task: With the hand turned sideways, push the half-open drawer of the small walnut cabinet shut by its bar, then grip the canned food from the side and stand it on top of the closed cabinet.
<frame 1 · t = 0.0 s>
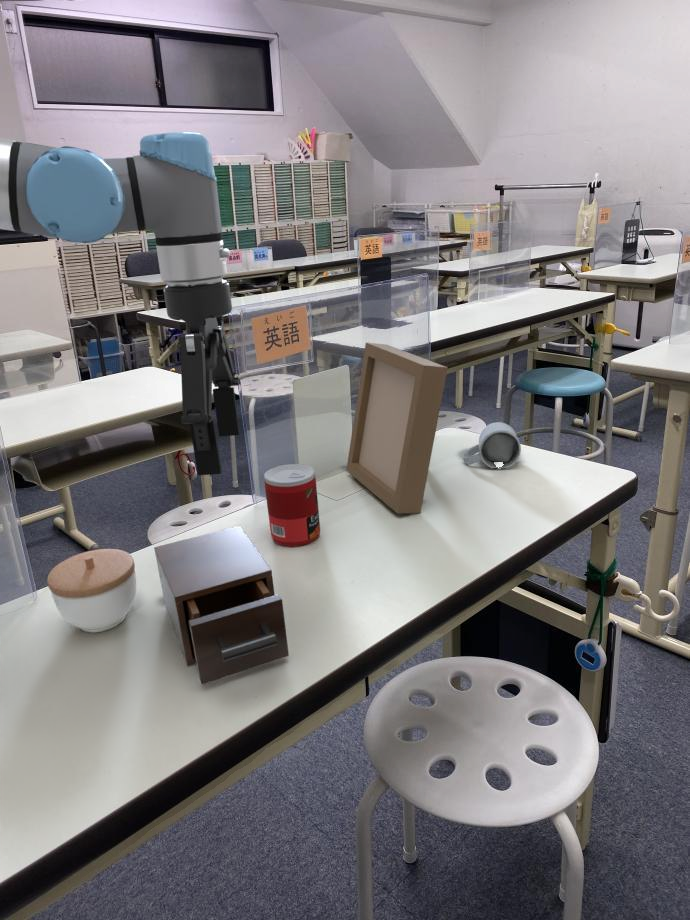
hand: (220, 453, 87), 21 cm above the table, tool pointing down, fingers open, 13 cm apart
canned food: (296, 537, 110), on the table
ceramic mug: (491, 463, 133), on the table
photo frame: (407, 487, 125), on the table
cabinet: (220, 622, 89), on the table
trinket box: (103, 620, 91), on the table
drawer: (231, 622, 80), point 5 cm above the table, slide at 4.0 cm
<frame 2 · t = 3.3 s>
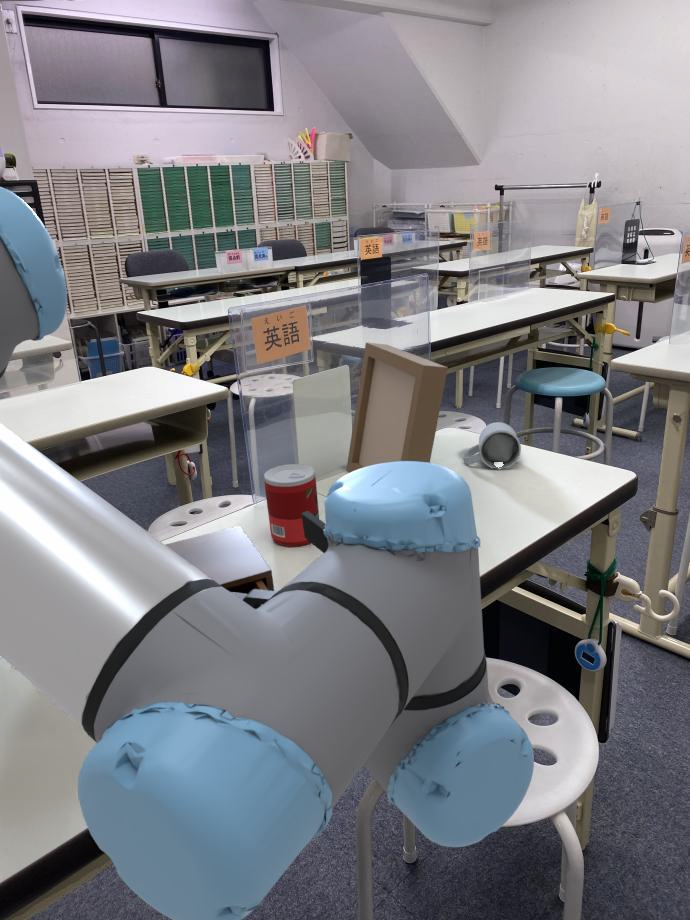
hand: (242, 544, 66), 20 cm above the table, tool horizontal, fingers open, 13 cm apart
nothing on the table moved.
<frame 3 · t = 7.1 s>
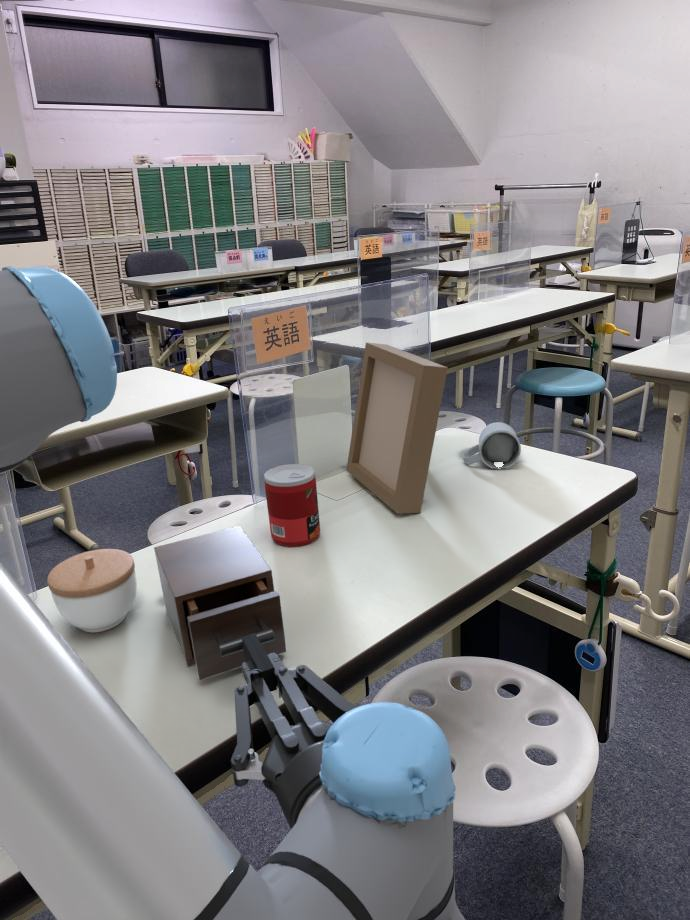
hand: (249, 645, 73), 6 cm above the table, tool horizontal, fingers closed
drawer: (229, 618, 81), point 5 cm above the table, slide at 3.1 cm, touching gripper
everything else where it was.
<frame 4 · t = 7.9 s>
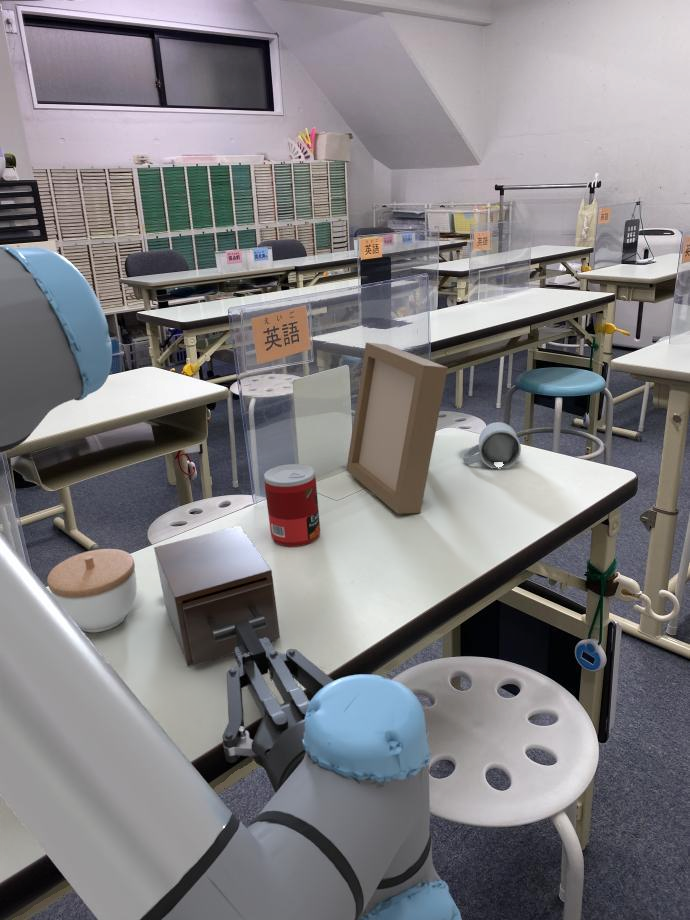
hand: (242, 631, 76), 6 cm above the table, tool horizontal, fingers closed
drawer: (223, 606, 83), point 5 cm above the table, slide at 0.3 cm, touching gripper
everything else where it was.
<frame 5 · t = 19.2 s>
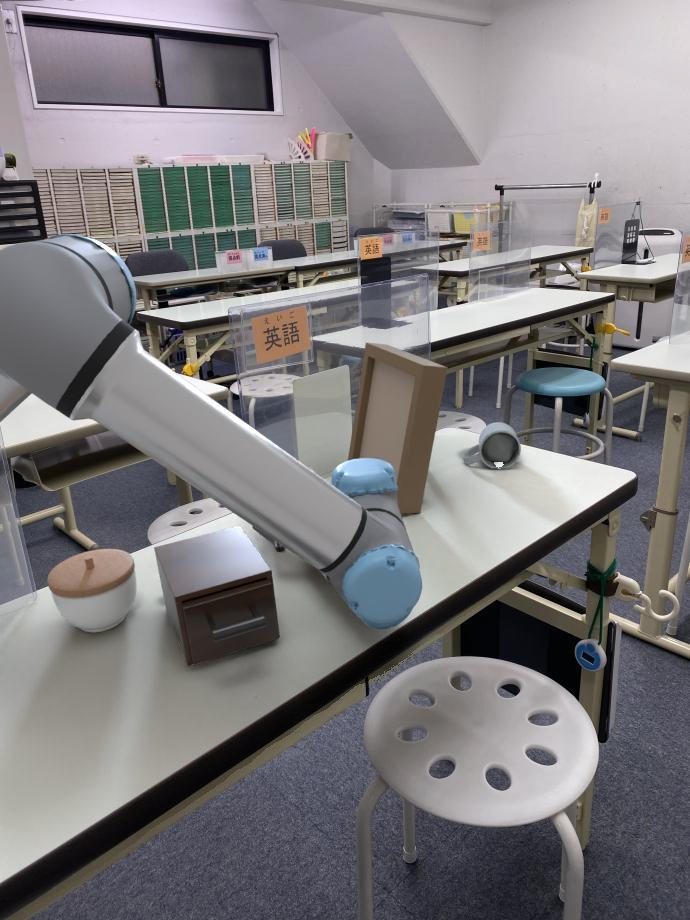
hand: (282, 491, 112), 6 cm above the table, tool horizontal, fingers closed on canned food, 8 cm apart
canned food: (296, 537, 110), on the table, touching gripper
drawer: (223, 606, 84), point 5 cm above the table, slide at 0.2 cm
everything else where it was.
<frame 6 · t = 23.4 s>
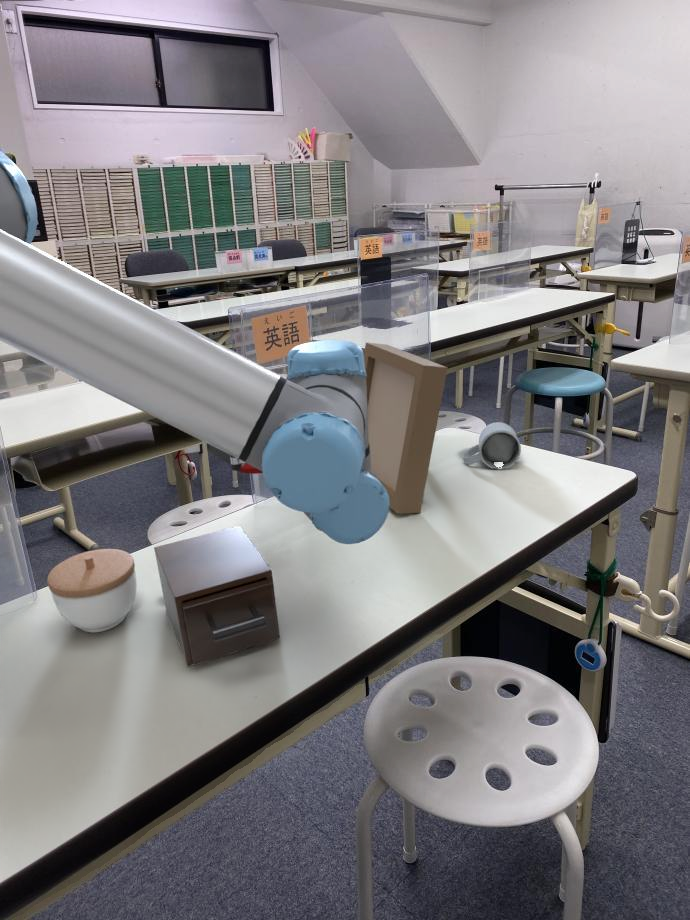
hand: (244, 415, 99), 22 cm above the table, tool horizontal, fingers closed on canned food, 8 cm apart
canned food: (259, 465, 97), point 16 cm above the table, touching gripper
everything else where it was.
when the fingers open (16 cm above the table, at t = 27.6 s): canned food stays where it is, resting on cabinet.
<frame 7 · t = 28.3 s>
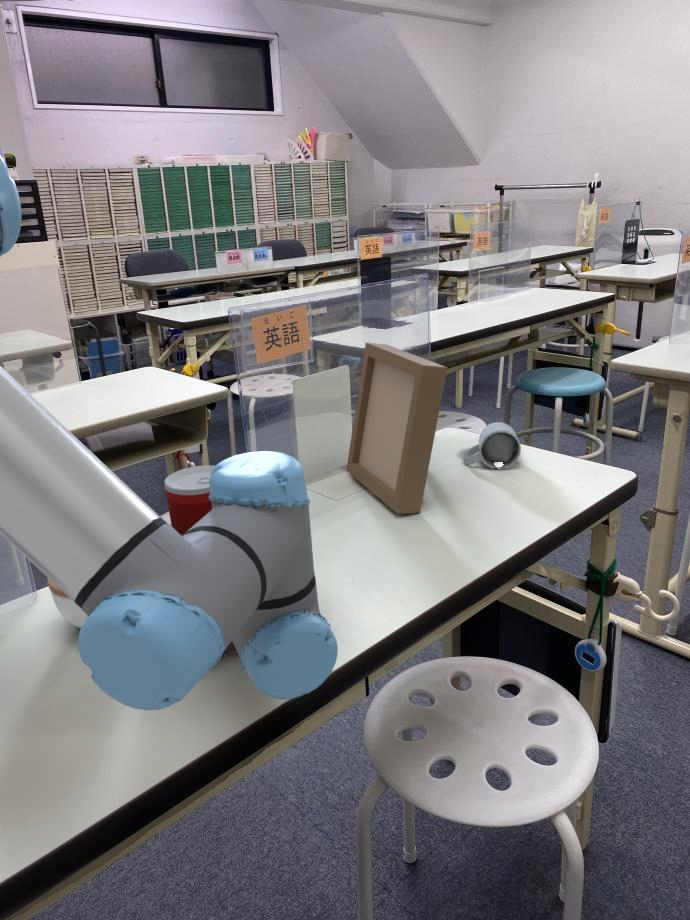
hand: (196, 500, 86), 16 cm above the table, tool horizontal, fingers open, 13 cm apart
canned food: (210, 559, 85), point 9 cm above the table, touching cabinet
everything else where it was.
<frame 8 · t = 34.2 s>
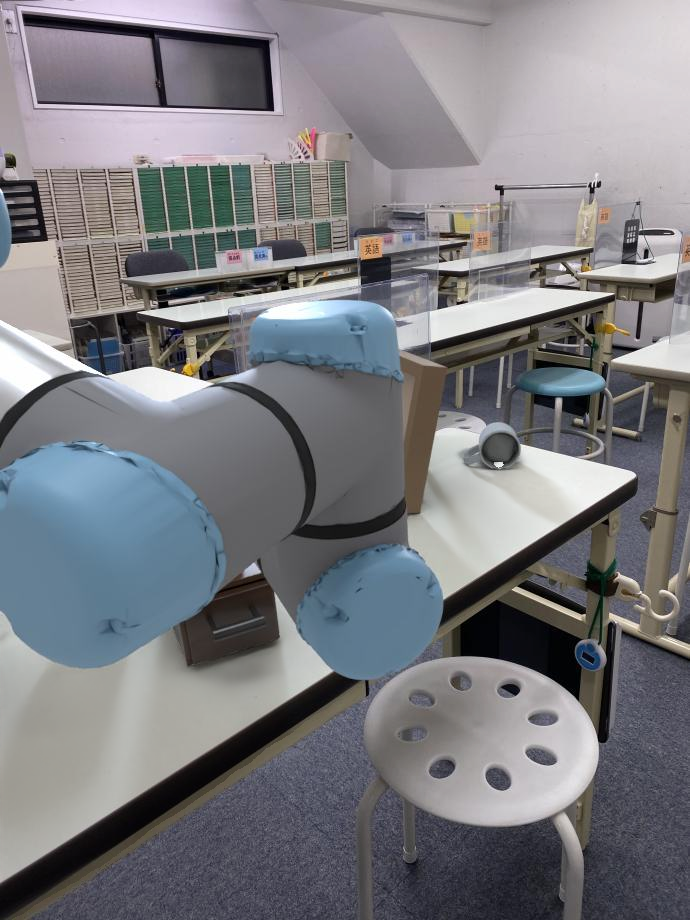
hand: (213, 432, 66), 30 cm above the table, tool horizontal, fingers open, 13 cm apart
nothing on the table moved.
at the end: drawer slide at 0.2 cm; canned food inside the target area on the cabinet (0.1 cm from its centre), point 9.4 cm above the cabinet's base; canned food tilted 0° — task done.
